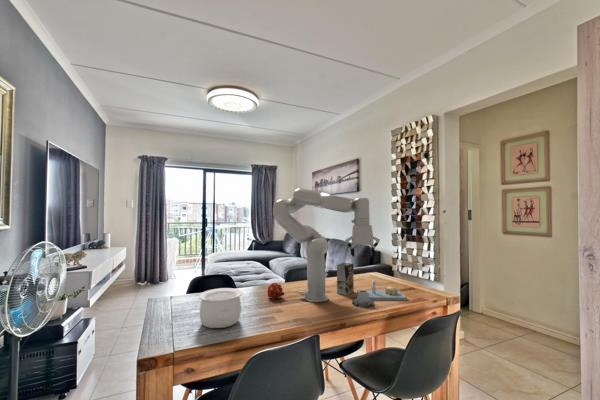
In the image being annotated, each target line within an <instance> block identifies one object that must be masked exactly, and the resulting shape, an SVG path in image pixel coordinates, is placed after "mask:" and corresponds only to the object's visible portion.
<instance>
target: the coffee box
mask: <svg viewBox="0 0 600 400" xmlns="http://www.w3.org/2000/svg"><path fill="white" fill-rule="evenodd" d="M354 278H355V276H354V263H349V262H344V263H340V264H336V294H339V295H342V296H343V295H344V296H348V295H350V294H351V293H352V294H353V293H354V291H355V288H354V286H355V285H354V284H355V283H354V282H355V281H354Z"/></svg>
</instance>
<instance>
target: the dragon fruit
mask: <svg viewBox="0 0 600 400" xmlns="http://www.w3.org/2000/svg"><path fill="white" fill-rule="evenodd" d="M284 295H286V294H285V292H284V291H283V288H282V285H281V284H278V282H273V283H271V284H270V285H269V286H268V287H267V296H268V298H271V299H272V300H273V301H276V299H280V298H281V297H282V296H284Z"/></svg>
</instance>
